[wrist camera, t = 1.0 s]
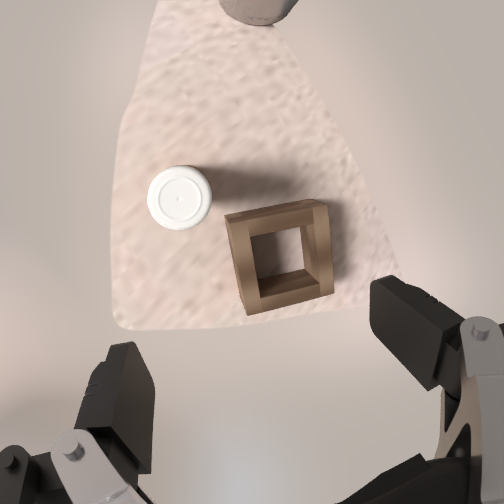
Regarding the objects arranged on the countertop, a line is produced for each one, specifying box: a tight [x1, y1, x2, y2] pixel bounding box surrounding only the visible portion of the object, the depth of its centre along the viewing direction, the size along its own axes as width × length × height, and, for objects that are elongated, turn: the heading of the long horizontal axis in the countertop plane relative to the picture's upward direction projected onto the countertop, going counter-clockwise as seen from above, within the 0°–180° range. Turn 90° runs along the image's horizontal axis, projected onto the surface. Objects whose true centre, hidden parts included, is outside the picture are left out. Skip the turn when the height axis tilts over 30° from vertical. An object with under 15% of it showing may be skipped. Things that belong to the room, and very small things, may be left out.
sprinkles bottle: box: [147, 165, 212, 231], centre depth 26 cm, size 5×5×13 cm
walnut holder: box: [224, 199, 334, 316], centre depth 34 cm, size 10×10×5 cm
